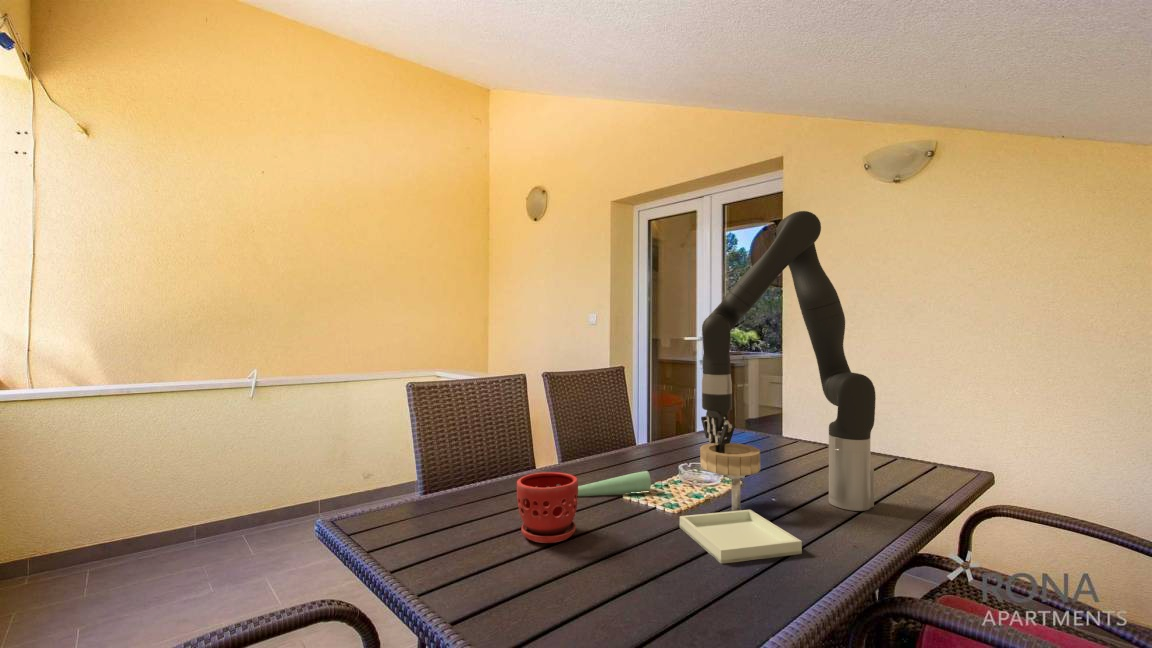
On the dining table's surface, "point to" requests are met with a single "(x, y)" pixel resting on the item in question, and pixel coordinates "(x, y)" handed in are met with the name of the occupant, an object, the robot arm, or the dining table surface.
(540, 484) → the plant pot
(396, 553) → the dining table surface
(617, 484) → the mint green cone
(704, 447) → the wooden ring
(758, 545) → the tray
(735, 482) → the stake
